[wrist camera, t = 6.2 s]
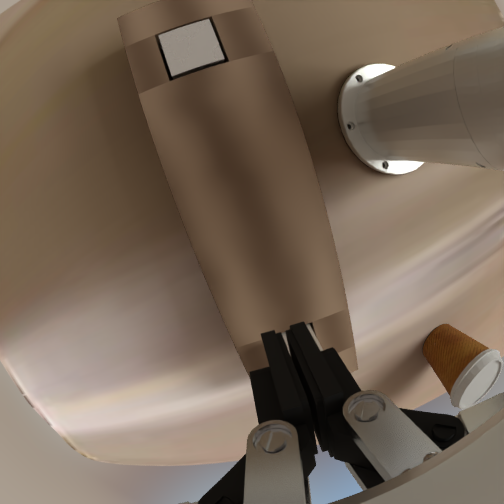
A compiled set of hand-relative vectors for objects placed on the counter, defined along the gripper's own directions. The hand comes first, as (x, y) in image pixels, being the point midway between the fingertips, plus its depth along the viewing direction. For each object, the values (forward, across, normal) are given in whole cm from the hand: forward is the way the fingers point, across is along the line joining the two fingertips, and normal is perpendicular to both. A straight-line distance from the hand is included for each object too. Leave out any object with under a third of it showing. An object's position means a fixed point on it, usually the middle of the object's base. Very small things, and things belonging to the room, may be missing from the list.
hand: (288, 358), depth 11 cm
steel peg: (+19, 0, -18) cm, 26 cm away
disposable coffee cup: (+19, -25, +23) cm, 39 cm away
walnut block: (+19, -1, -4) cm, 20 cm away
